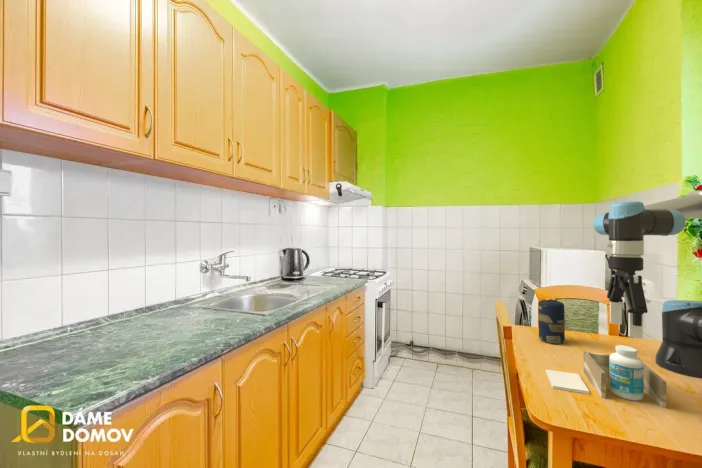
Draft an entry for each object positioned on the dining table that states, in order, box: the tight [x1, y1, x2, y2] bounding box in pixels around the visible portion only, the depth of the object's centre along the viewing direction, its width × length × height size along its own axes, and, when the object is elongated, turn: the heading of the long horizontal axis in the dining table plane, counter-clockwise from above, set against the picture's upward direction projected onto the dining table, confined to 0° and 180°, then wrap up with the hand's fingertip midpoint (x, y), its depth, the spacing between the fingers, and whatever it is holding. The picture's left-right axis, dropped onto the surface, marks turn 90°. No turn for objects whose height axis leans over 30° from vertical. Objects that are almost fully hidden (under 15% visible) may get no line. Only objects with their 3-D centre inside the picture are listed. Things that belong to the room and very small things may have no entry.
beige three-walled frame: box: [583, 351, 667, 409], centre depth 93 cm, size 14×17×7 cm
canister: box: [537, 298, 566, 344], centre depth 134 cm, size 10×10×18 cm
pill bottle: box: [608, 344, 645, 402], centre depth 90 cm, size 8×7×14 cm
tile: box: [545, 369, 590, 395], centre depth 98 cm, size 9×12×1 cm
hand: (624, 330), depth 90 cm, fingers open, 13 cm apart
